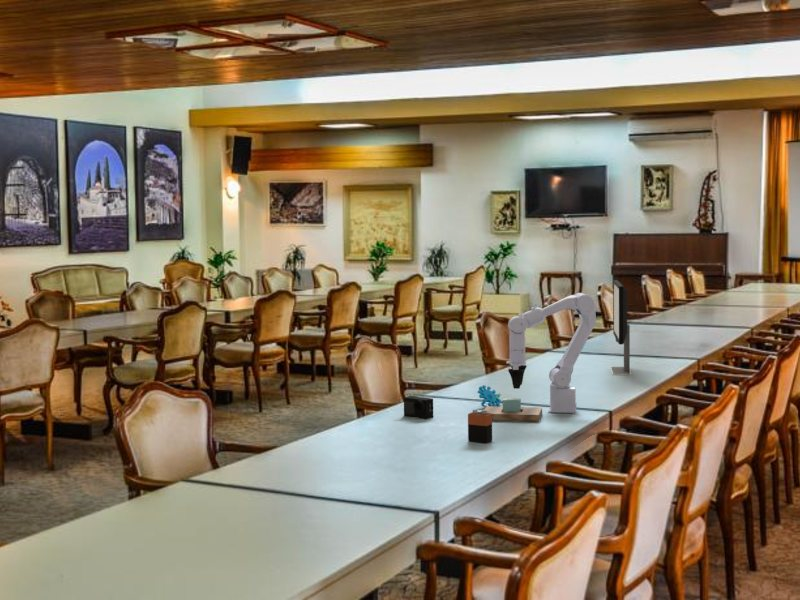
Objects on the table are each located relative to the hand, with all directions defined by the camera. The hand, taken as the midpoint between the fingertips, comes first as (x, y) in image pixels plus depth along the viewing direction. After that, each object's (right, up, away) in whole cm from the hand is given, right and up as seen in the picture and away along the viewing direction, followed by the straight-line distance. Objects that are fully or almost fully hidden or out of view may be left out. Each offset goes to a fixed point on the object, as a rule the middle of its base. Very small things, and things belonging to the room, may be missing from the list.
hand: (517, 386), depth 384 cm
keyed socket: (-3, -10, -9) cm, 14 cm away
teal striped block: (-3, -10, -9) cm, 13 cm away
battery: (-17, -14, -46) cm, 51 cm away
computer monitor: (+57, -1, +93) cm, 109 cm away
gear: (-9, -9, +15) cm, 19 cm away
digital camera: (-37, -11, -4) cm, 38 cm away
